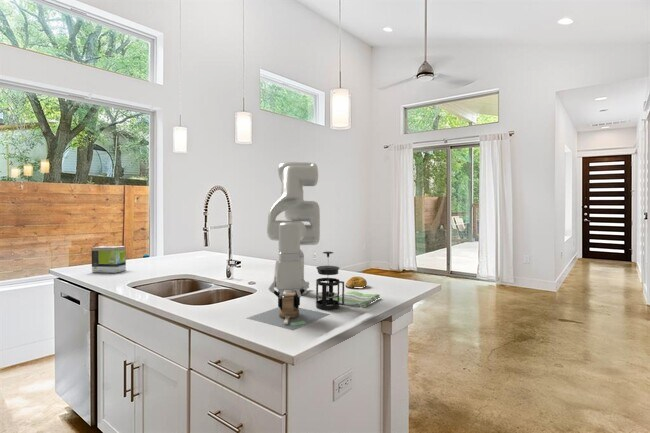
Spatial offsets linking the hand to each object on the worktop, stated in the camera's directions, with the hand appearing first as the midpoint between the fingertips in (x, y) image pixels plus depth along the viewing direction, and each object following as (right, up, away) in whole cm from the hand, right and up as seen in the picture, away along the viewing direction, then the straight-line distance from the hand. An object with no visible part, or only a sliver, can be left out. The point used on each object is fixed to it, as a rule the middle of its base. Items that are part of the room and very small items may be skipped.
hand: (288, 307), depth 134 cm
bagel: (+28, -3, +54) cm, 61 cm away
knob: (0, -3, -2) cm, 4 cm away
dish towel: (+24, -4, +26) cm, 36 cm away
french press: (+14, -4, +12) cm, 19 cm away
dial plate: (0, -4, 0) cm, 4 cm away
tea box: (-114, 0, +88) cm, 144 cm away
